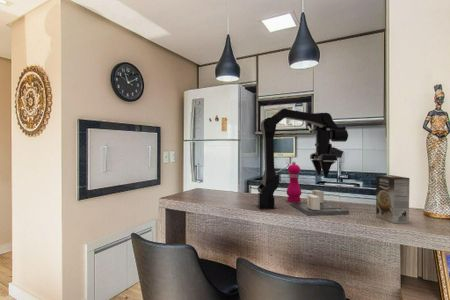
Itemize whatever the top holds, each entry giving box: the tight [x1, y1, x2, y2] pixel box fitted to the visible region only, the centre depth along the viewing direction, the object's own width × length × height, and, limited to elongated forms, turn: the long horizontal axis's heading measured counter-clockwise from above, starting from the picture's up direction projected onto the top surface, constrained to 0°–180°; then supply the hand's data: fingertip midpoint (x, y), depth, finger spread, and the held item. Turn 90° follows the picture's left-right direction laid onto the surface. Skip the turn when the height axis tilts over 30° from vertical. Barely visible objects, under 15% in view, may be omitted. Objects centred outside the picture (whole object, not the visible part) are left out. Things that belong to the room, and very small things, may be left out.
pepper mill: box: [286, 160, 302, 203], centre depth 126 cm, size 7×7×20 cm
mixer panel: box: [289, 200, 350, 217], centre depth 109 cm, size 17×20×2 cm
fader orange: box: [306, 194, 320, 210], centre depth 103 cm, size 3×5×5 cm, turn 7°
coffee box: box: [375, 174, 411, 224], centre depth 93 cm, size 9×6×16 cm
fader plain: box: [311, 189, 325, 203], centre depth 116 cm, size 3×5×5 cm, turn 7°
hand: (322, 176), depth 113 cm, fingers open, 9 cm apart
